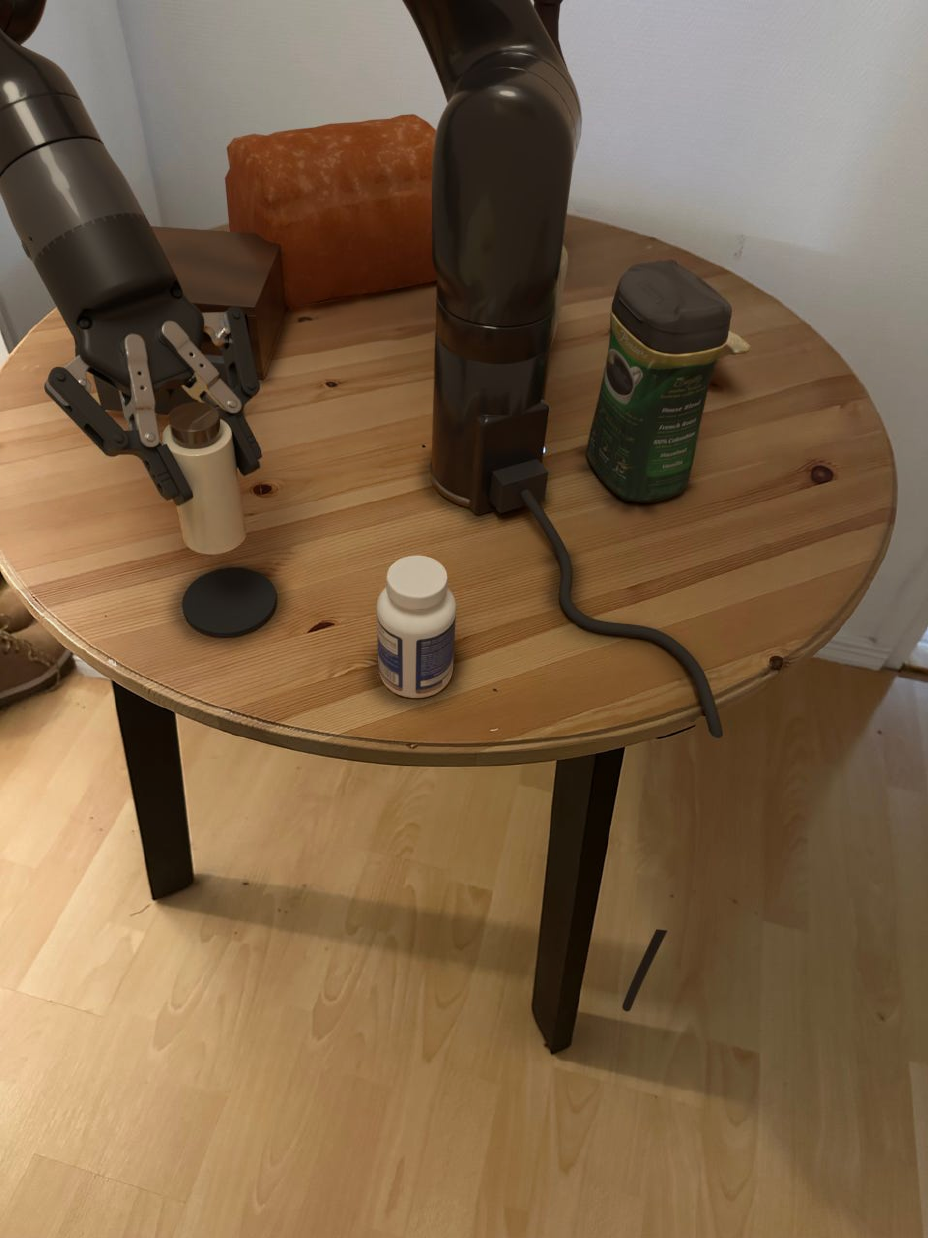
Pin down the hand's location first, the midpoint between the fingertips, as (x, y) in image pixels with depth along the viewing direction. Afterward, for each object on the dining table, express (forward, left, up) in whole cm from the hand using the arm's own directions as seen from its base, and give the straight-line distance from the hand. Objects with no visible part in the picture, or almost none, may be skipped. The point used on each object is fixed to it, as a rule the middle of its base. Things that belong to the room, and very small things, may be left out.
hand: (219, 485), depth 63 cm
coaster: (+2, 0, -13) cm, 13 cm away
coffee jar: (+3, -38, -13) cm, 40 cm away
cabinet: (+40, -10, -13) cm, 43 cm away
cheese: (+16, -53, -13) cm, 56 cm away
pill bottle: (-10, -10, -13) cm, 19 cm away
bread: (+49, -29, -13) cm, 58 cm away
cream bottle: (+2, +1, -6) cm, 6 cm away
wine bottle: (+37, -45, -13) cm, 59 cm away
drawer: (+32, -5, -12) cm, 34 cm away
